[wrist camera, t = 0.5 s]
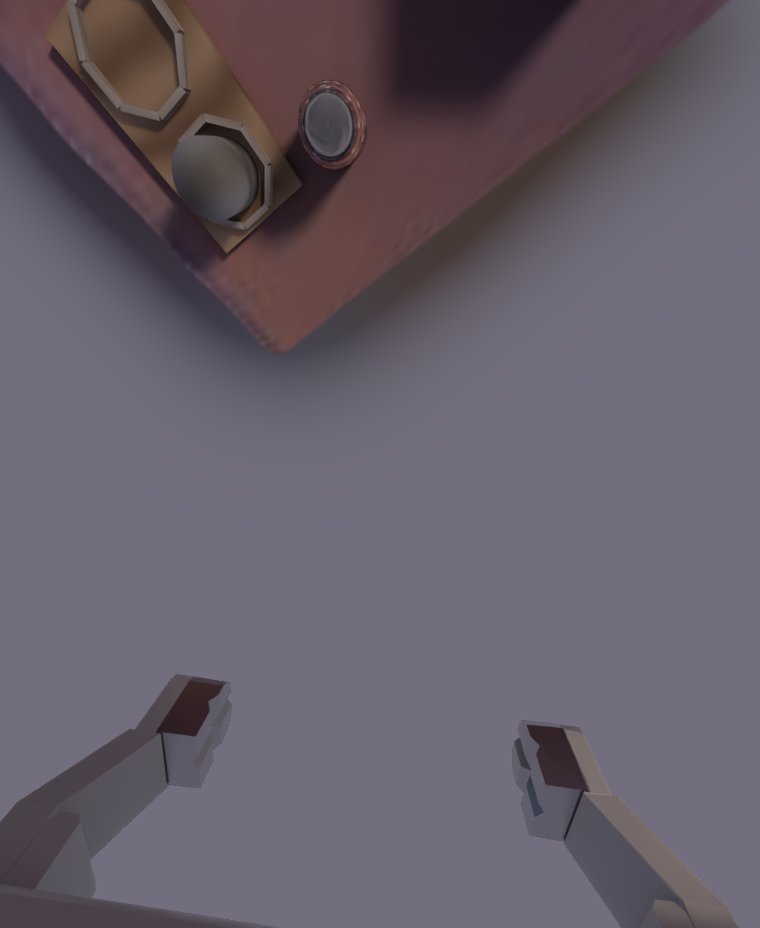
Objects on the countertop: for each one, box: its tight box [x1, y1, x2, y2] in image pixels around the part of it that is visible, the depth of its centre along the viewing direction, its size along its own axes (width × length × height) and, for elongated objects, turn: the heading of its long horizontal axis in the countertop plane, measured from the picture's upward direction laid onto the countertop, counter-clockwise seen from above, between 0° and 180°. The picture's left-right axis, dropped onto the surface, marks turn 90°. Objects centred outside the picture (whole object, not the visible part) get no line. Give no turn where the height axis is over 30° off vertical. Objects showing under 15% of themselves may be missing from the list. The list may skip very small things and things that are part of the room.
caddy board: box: [45, 0, 304, 253], centre depth 35 cm, size 21×12×8 cm, turn 34°
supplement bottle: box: [298, 80, 367, 170], centre depth 35 cm, size 6×6×11 cm
